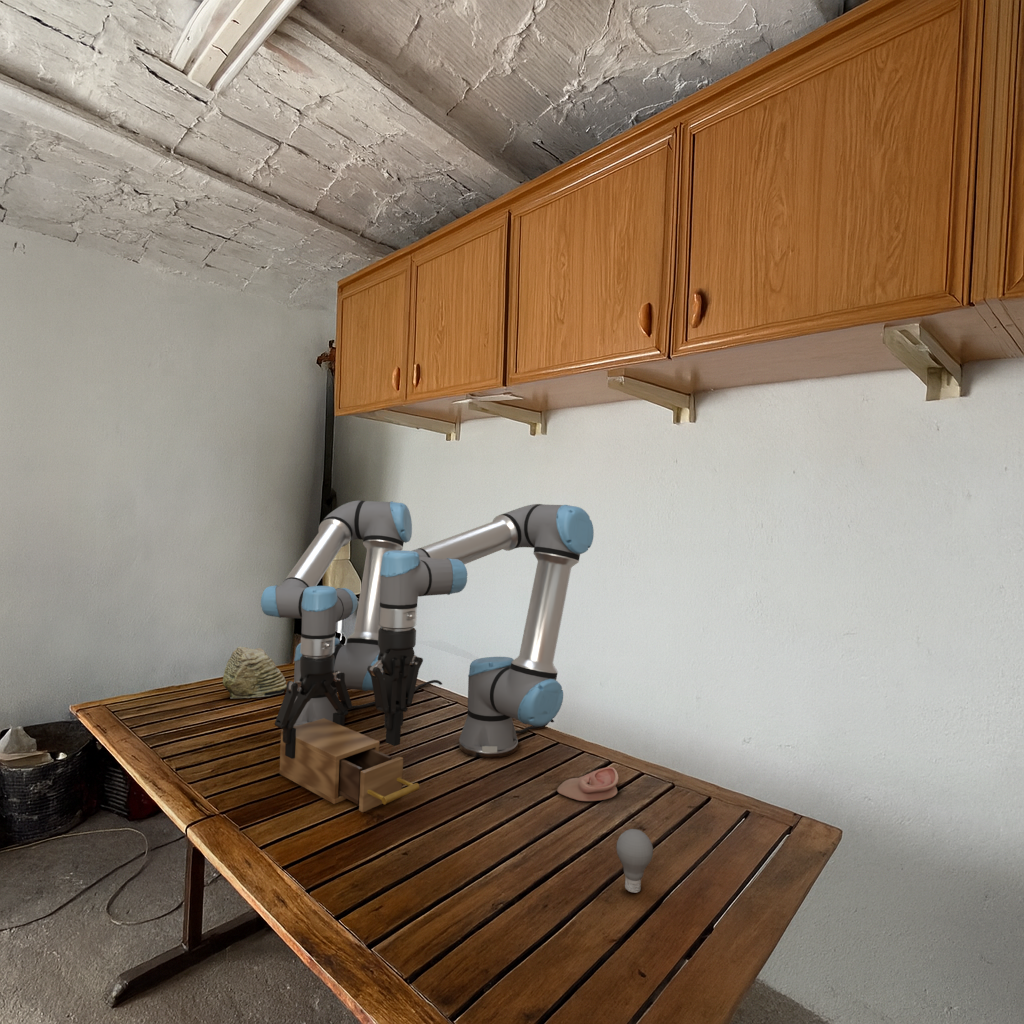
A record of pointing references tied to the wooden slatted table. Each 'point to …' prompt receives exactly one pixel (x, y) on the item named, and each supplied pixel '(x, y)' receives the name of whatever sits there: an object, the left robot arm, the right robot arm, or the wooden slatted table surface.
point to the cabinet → (322, 756)
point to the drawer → (372, 779)
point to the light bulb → (634, 857)
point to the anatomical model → (591, 785)
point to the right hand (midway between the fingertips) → (392, 743)
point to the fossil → (252, 674)
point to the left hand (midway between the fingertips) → (314, 748)
